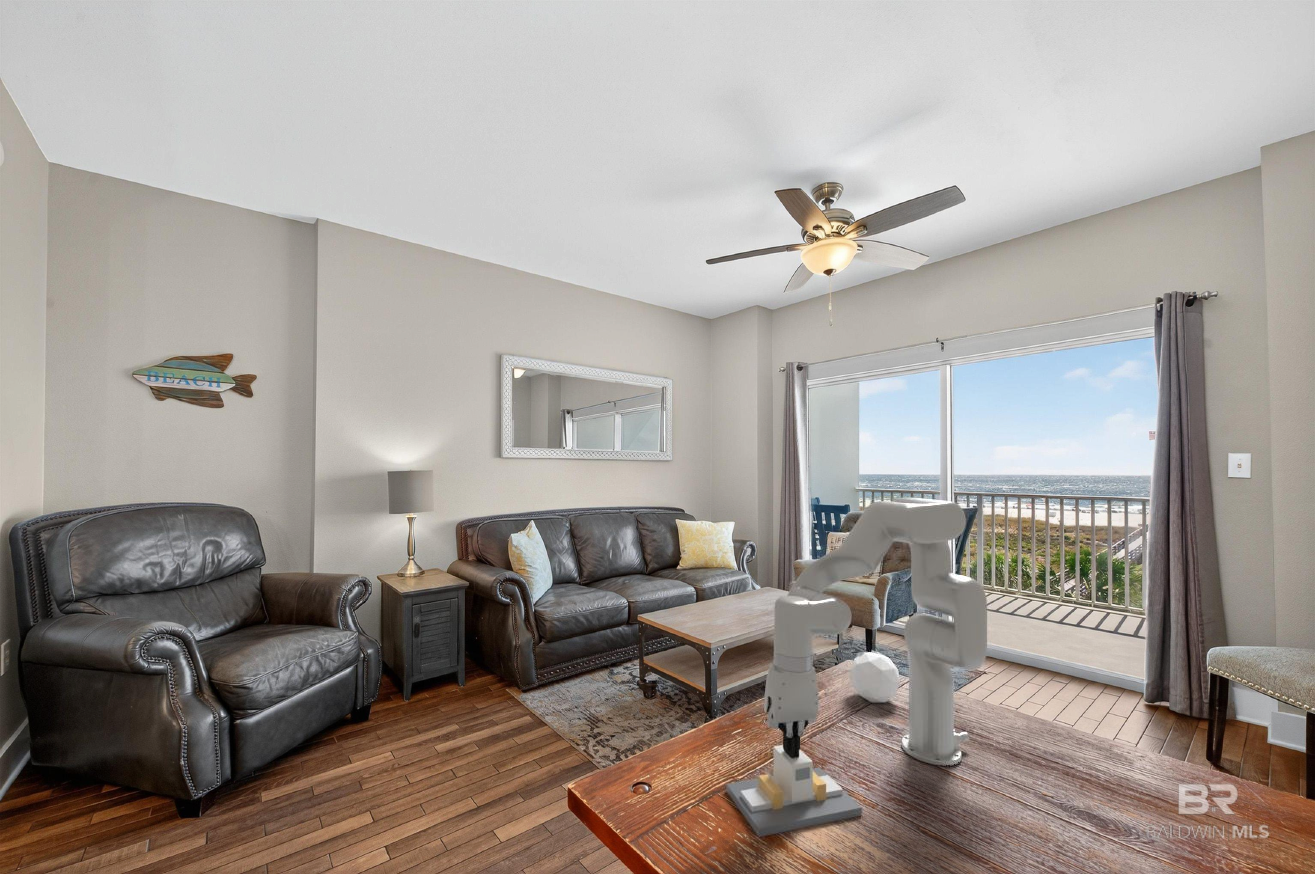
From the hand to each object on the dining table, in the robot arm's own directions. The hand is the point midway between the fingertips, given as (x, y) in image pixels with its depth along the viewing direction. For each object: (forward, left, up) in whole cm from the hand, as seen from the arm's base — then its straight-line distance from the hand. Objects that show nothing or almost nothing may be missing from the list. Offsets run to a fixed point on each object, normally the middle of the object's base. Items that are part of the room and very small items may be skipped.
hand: (791, 753), depth 108 cm
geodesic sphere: (-48, -35, -10) cm, 60 cm away
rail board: (0, 0, -10) cm, 10 cm away
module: (0, 0, -7) cm, 7 cm away
